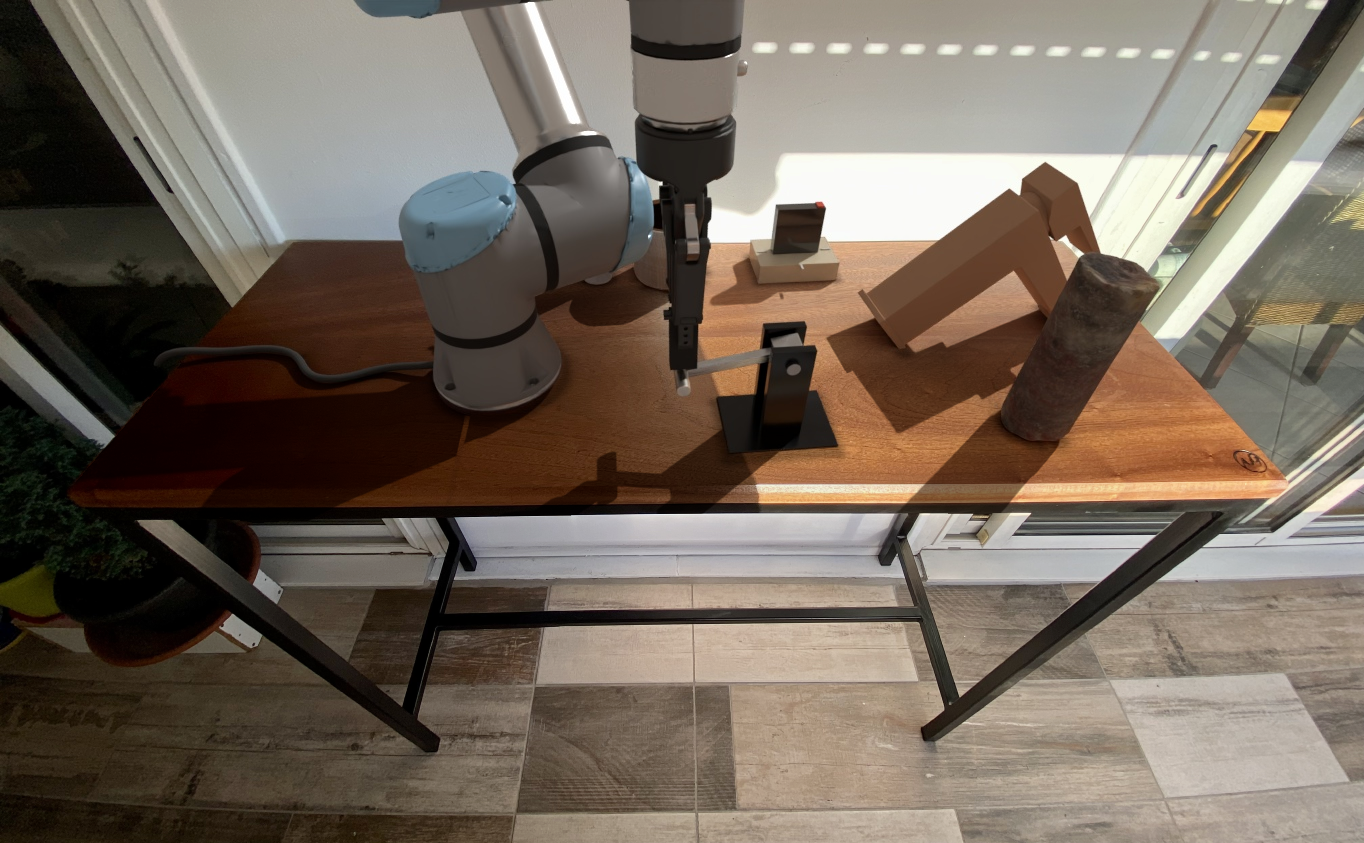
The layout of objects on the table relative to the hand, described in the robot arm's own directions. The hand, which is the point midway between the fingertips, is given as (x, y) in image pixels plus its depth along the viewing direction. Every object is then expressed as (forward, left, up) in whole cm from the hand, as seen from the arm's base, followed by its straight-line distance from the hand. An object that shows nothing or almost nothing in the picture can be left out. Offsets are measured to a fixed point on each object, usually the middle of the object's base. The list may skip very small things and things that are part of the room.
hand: (683, 364), depth 60 cm
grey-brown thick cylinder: (+41, -2, -10) cm, 42 cm away
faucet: (+41, +16, -10) cm, 45 cm away
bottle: (-9, +34, -10) cm, 37 cm away
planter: (+2, +34, -10) cm, 36 cm away
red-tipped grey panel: (+21, +34, -7) cm, 40 cm away
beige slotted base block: (+21, +34, -10) cm, 41 cm away
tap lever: (+6, 0, -1) cm, 6 cm away
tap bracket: (+11, 0, -10) cm, 15 cm away
